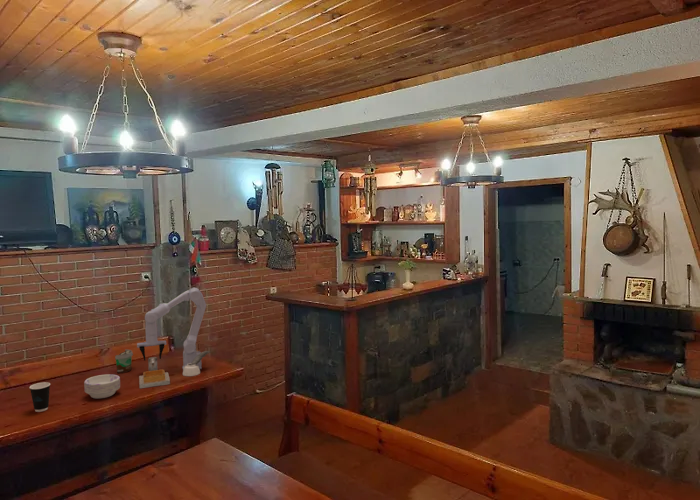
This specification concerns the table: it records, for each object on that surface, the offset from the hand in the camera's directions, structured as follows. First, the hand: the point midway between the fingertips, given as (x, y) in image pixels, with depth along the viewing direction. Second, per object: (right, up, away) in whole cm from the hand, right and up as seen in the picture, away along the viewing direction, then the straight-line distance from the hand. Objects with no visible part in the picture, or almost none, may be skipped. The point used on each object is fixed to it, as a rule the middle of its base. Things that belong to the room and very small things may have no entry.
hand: (152, 359), depth 271 cm
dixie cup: (-30, -12, -48) cm, 58 cm away
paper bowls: (-11, -11, -31) cm, 35 cm away
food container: (-16, -7, +6) cm, 19 cm away
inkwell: (+24, -7, +2) cm, 25 cm away
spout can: (+1, -7, 0) cm, 7 cm away
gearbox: (+6, -9, -14) cm, 18 cm away
